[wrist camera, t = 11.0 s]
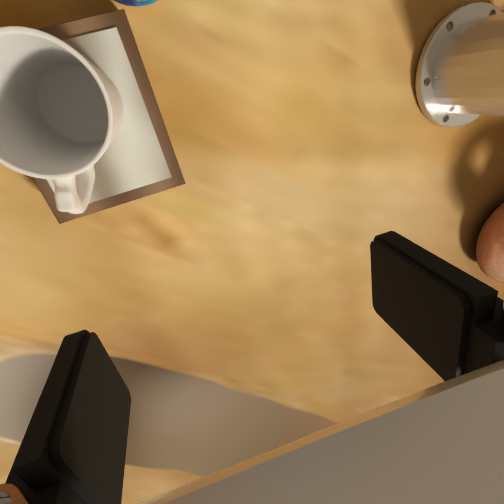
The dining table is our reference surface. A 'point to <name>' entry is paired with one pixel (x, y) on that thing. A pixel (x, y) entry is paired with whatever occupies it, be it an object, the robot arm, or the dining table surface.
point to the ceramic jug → (492, 245)
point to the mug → (54, 113)
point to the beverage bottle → (136, 2)
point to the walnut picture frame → (134, 120)
